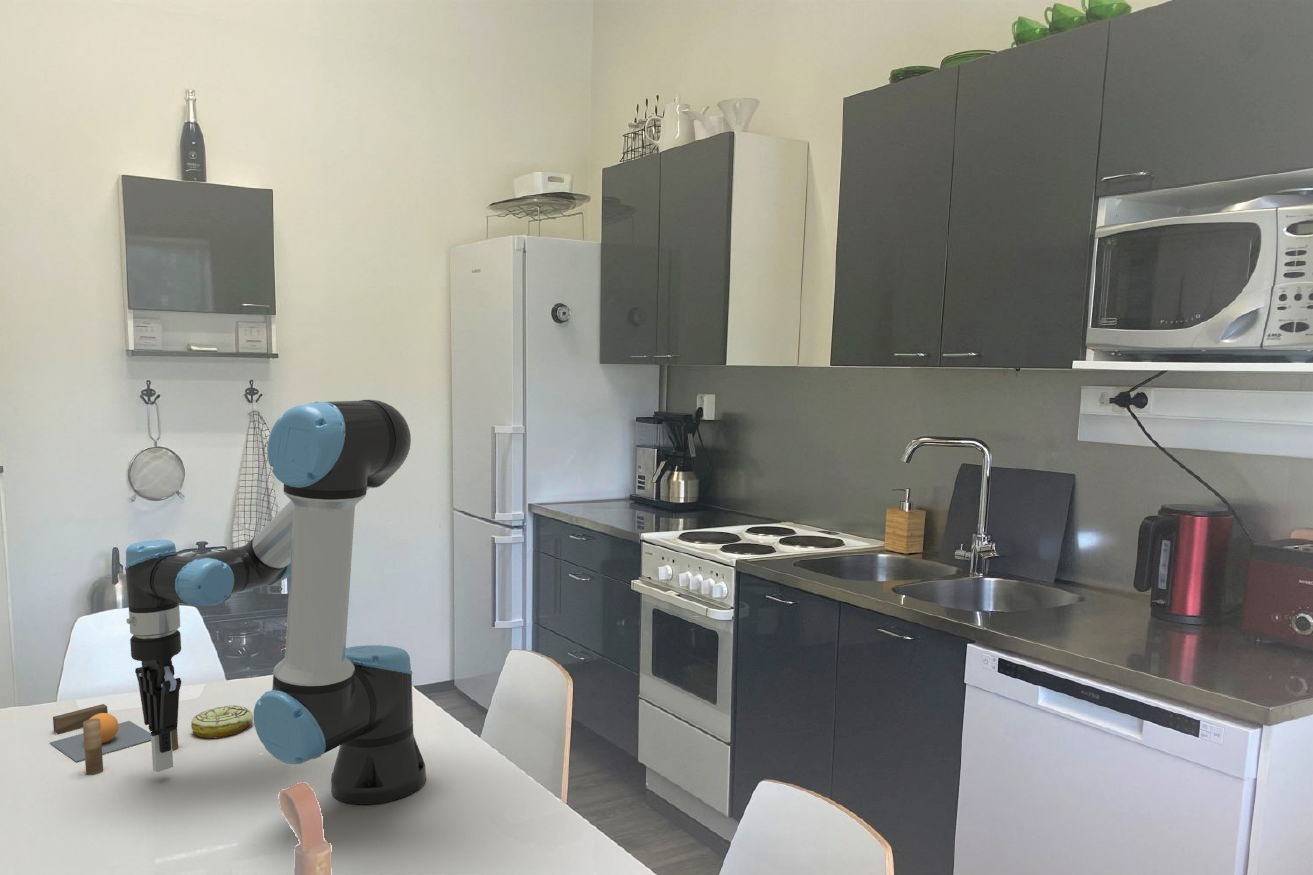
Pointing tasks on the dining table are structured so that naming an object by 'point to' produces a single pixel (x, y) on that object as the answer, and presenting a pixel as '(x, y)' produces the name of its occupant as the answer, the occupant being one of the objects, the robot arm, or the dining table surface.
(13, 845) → the dining table surface
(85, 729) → the left post
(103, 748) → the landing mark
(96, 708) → the stopper wall
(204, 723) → the decorated donut
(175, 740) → the right post
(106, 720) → the ball
